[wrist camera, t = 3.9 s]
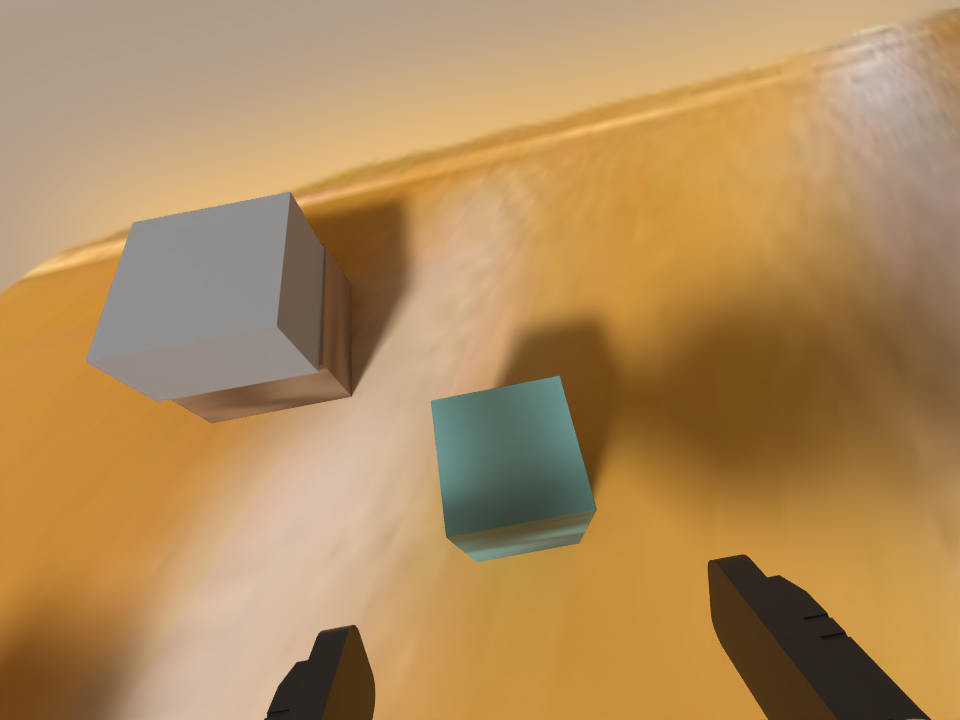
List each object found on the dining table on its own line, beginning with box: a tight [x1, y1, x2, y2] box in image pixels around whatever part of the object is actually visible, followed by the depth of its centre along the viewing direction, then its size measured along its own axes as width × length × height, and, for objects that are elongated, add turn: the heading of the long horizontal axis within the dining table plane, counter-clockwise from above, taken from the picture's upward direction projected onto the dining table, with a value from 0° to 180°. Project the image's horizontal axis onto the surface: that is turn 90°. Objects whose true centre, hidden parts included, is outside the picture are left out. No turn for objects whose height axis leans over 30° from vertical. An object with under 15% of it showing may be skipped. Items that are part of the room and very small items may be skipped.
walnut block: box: [171, 244, 351, 423], centre depth 26 cm, size 8×8×4 cm
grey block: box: [86, 192, 324, 402], centre depth 22 cm, size 8×8×4 cm
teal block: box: [431, 376, 597, 562], centre depth 18 cm, size 5×5×8 cm
